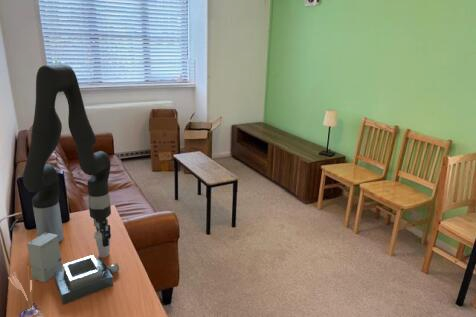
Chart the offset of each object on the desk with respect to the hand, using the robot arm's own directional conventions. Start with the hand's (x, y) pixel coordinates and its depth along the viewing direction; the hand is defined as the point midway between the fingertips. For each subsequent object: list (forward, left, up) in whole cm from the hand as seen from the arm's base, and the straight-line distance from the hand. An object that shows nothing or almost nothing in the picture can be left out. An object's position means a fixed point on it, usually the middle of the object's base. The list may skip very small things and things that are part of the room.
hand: (103, 241), depth 133 cm
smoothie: (0, 0, -6) cm, 6 cm away
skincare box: (+1, -20, -6) cm, 21 cm away
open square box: (+13, -9, -6) cm, 17 cm away
